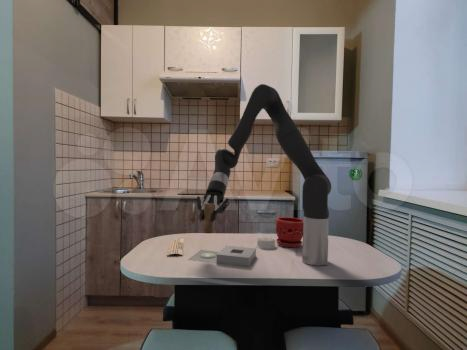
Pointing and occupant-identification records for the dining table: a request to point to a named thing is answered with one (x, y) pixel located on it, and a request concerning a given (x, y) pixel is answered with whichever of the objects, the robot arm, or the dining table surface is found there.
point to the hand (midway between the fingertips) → (206, 220)
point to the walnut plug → (208, 217)
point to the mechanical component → (265, 243)
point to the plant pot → (289, 231)
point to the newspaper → (176, 246)
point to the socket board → (227, 256)
